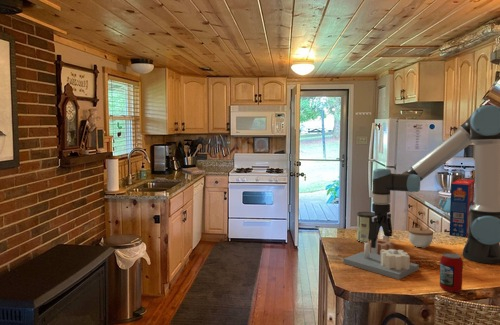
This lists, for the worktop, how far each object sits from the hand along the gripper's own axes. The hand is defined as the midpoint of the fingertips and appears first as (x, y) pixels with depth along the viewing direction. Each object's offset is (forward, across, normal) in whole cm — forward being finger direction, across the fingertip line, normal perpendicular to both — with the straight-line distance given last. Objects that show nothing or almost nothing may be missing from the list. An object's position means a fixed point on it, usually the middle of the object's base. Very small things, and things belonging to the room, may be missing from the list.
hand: (380, 252), depth 170 cm
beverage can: (+1, +19, +37) cm, 42 cm away
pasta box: (+1, -72, +9) cm, 73 cm away
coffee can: (+1, -14, -15) cm, 21 cm away
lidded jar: (+1, -25, +7) cm, 26 cm away
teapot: (+1, -128, -16) cm, 129 cm away
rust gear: (0, 0, 0) cm, 0 cm away
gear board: (0, +16, +9) cm, 18 cm away
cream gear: (-2, +16, +15) cm, 22 cm away
